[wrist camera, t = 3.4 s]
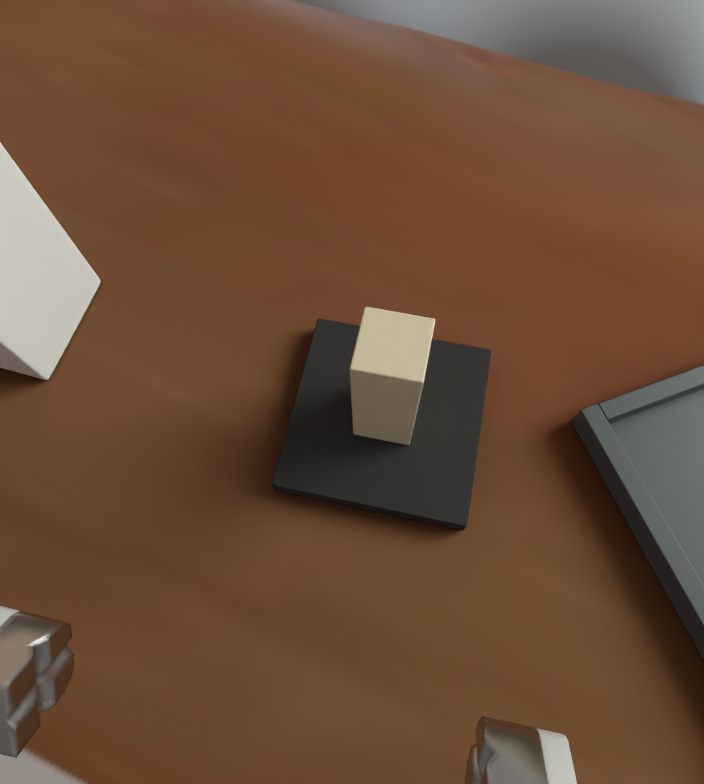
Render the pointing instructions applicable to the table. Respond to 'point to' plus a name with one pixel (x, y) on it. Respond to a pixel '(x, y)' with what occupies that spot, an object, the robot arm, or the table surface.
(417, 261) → the table surface
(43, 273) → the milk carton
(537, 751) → the robot arm
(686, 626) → the grey shallow rectangular tray
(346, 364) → the loose pad
